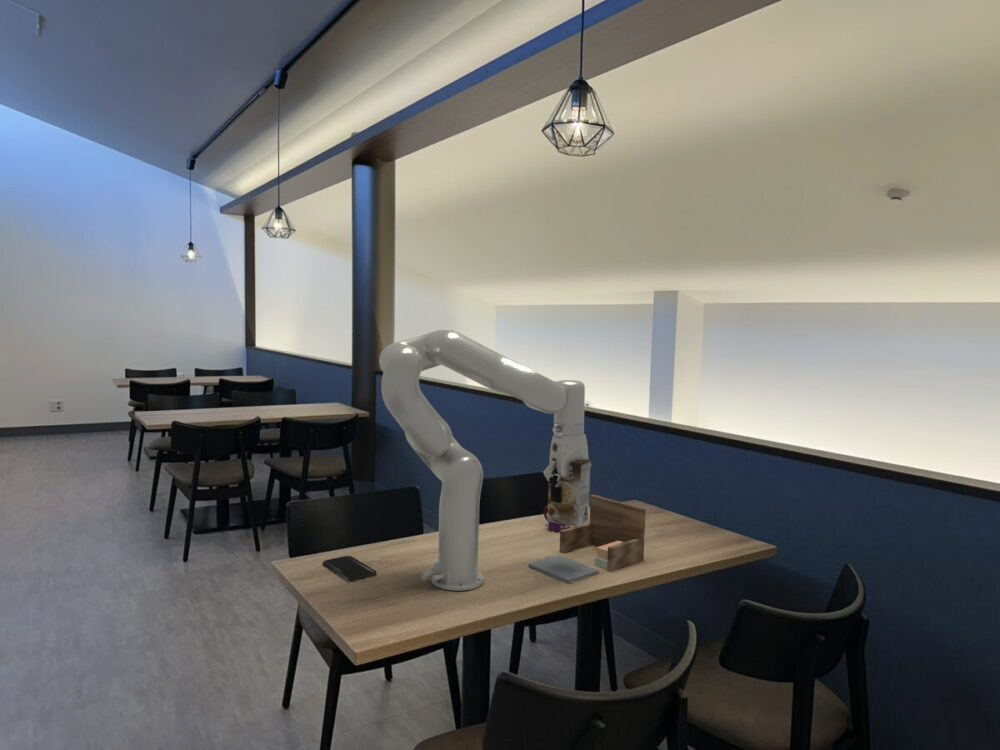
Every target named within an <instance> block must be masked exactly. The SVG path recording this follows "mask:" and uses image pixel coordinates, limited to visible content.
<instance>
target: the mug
mask: <svg viewBox="0 0 1000 750" xmlns="http://www.w3.org/2000/svg"><path fill="white" fill-rule="evenodd" d="M547 510H548V504H547V505H545V506H544V508H543V517H544V518H545V520H546V522H547V525H548V526H547V527H548V530H549V531H550V530H551V532H552V531H554V532H553V533H557V532H560V530H564V529H568V528H571V526H569V525H564V524H559V523H555V522H550V521H547V514H548V513H547Z"/></svg>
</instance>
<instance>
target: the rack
mask: <svg viewBox="0 0 1000 750" xmlns="http://www.w3.org/2000/svg"><path fill="white" fill-rule="evenodd" d="M646 512H647V511H646V508H644V507H640V506H636V505H633V504H629V503H625V502H621V501H618V500H615V499H611V498H608V497H603V496H600V495H598V494H591V495H590V497H589V523H588V522H587V523H585V524H583V525H582V526H580V527H574V526H571V527H570V528H568V529H564V530H560V533H559V553H562V554H565V553H567V552H568V551H569V552H571V550H572V551H575V550H579V549H582V548H585V546H586V547H589V546H594V547H596V548H597V547H600V546H603V545H606V544H609V543H612V542H615V541H621V542H623V543H620V544H617V545H613V546H610V547H608V558H607V569H606V571H608V572H614V571H617V570H619V569H622V568H626V567H628V566H631V565H634V564H637V563H641V562H643V561H644V554H645V553H644V552H645V534H646V533H645V531H646V530H645V529H646ZM578 548H579V549H578ZM574 549H575V550H574Z"/></svg>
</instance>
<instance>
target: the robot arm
mask: <svg viewBox="0 0 1000 750" xmlns="http://www.w3.org/2000/svg"><path fill="white" fill-rule="evenodd" d="M439 366H444V367H446V368H448V369H450V370H452V371H454V372H455V373H458V374H460V375H462V376H464V377H466V378H468V379H469V380H470V381H471V380H472V381H473V382H476V383H478V384H480V385H481V386H484V387H486V388H488V389H490V390H493V391H496V392H499V393H503V394H506V395H508V396H511V397H514V398H515V399H518V400H520V401H522V402H523V403H524V404H525V406H527V407H528V408H530V409H532V410H534V411H535V410H536V411H538V412H542V413H544V414H553V427H552V428H551V429H552V432H553V435H552V439H551V443H550V449H549V459H550V460H549V459H548V465H547V466H546V468H545V469H544V470H543V471H542V473H543V475H544V477H545V478H546V479H545V480H546V482H548V483H549V485H551V501H553V502H557V503H561V501H562V487H560V484H561V482H562V479H563V477H569V476H570V462H573V461H577V460H585V459H589V446H588V440H587V439H588V438H587V436H586V434H585V404H586V403H585V399H586V398H585V397H586V395H585V393H586V387H585V384H584V382H583V381H580V380H574V379H573V380H572V379H565V380H557V381H556V380H552V379H550V378H548V377H547V376H544V375H543V374H541V373H538V372H537V371H535V370H533V369H531V368H528V367H526V366H524V365H523V364H520V363H519V362H516V361H515V360H512V359H511V358H510V357H507V356H505V355H503V354H500V353H499V352H496V351H494V350H493V349H491V348H488V347H487V346H486V345H483V344H481V343H480V342H477V341H476V340H474V339H472V338H471V337H468V336H466V335H464V334H462V333H461V332H459V331H455V330H452V329H439V330H435V331H431V332H427V333H426V334H422V335H418V336H415V337H410V338H408V339H404V340H401V341H397V342H394V343H391V344H389V345H387V346H386V347H384V348H383V349H382V352H381V353H380V355H379V367H380V369H381V371H382V372H383V373H382V376H381V384H380V385H381V387H380V388H381V395H382V400H383V402H384V405H385V407H386V408H387V410H388V411H389V413H390V414H391V417H393V418H394V420H395V422H397V423H398V425H399V427H400V428H401V429H402V430H403V431H404V434H405V435H404V436H405V438H406V441H407V442H408V444H409V446H410V447H411V448H412V449H413V450H414V452H415V453H416V454H417V455H418V456H419V457H420V458H421V460H422V462H423V463H425V466H427V467H428V468H429V469H430V470H431V472H432V473H433V474H434V475H435V476H436V478H438V479H439V480H440V481H441V490H440V497H439V507H438V548H437V549H438V551H437V553H438V554H437V562H435V563H433V564H434V566H433V568H431V570H425V571H422V572H420V580H421V581H427V580H430V579H431V580H430V582H431V583H432V585H433V586H435V587H437V588H439V589H442V590H446V591H456V592H459V591H461V592H462V591H469V590H470V591H471V590H474V589H477V588H478V587H480V586H482V585H483V584H484V581H485V577H484V574H483V572H481V571H480V570H478V569H479V567H478V566H479V538H480V537H479V535H480V534H479V533H480V504H481V503H480V500H481V493H482V488H483V487H482V486H483V482H484V481H483V480H484V471H483V466H482V464H481V462H480V460H479V459H478V458H477V456H476V455H474V454H473V453H472V452H470V451H468V450H467V449H465V448H464V447H462V446H461V445H460V443H459V442H458V441H457V439H455V437H454V436H453V432H452V429H451V427H450V426H449V424H448V423H447V421H446V420H445V419H444V418H443V417H441V415H440V414H439V412H437V411H436V409H435V408H434V406H433V405H432V404H431V403H430V402H429V400H428V399H427V398H426V396H425V394H423V392H422V390H421V387H420V376H421V374H422V372H424V371H426V370H429V369H430V370H431V369H433V368H437V367H439ZM591 467H592V462H591V463H590V469H591ZM555 468H557V471H558V474H557V473H555V470H554V469H555ZM553 470H554V471H553ZM552 471H553V472H552ZM552 473H553V474H552ZM556 477H558V479H557V481H556V480H555V479H556Z"/></svg>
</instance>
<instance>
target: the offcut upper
mask: <svg viewBox="0 0 1000 750" xmlns="http://www.w3.org/2000/svg"><path fill="white" fill-rule="evenodd" d="M620 543H623V542H621V541H615V542H612V543H609V544H606V545H603V546H600V547H597V546H596V557H599V558H601V559H604V560H607V558H608V547H610V546H613V545H617V544H620Z"/></svg>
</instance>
